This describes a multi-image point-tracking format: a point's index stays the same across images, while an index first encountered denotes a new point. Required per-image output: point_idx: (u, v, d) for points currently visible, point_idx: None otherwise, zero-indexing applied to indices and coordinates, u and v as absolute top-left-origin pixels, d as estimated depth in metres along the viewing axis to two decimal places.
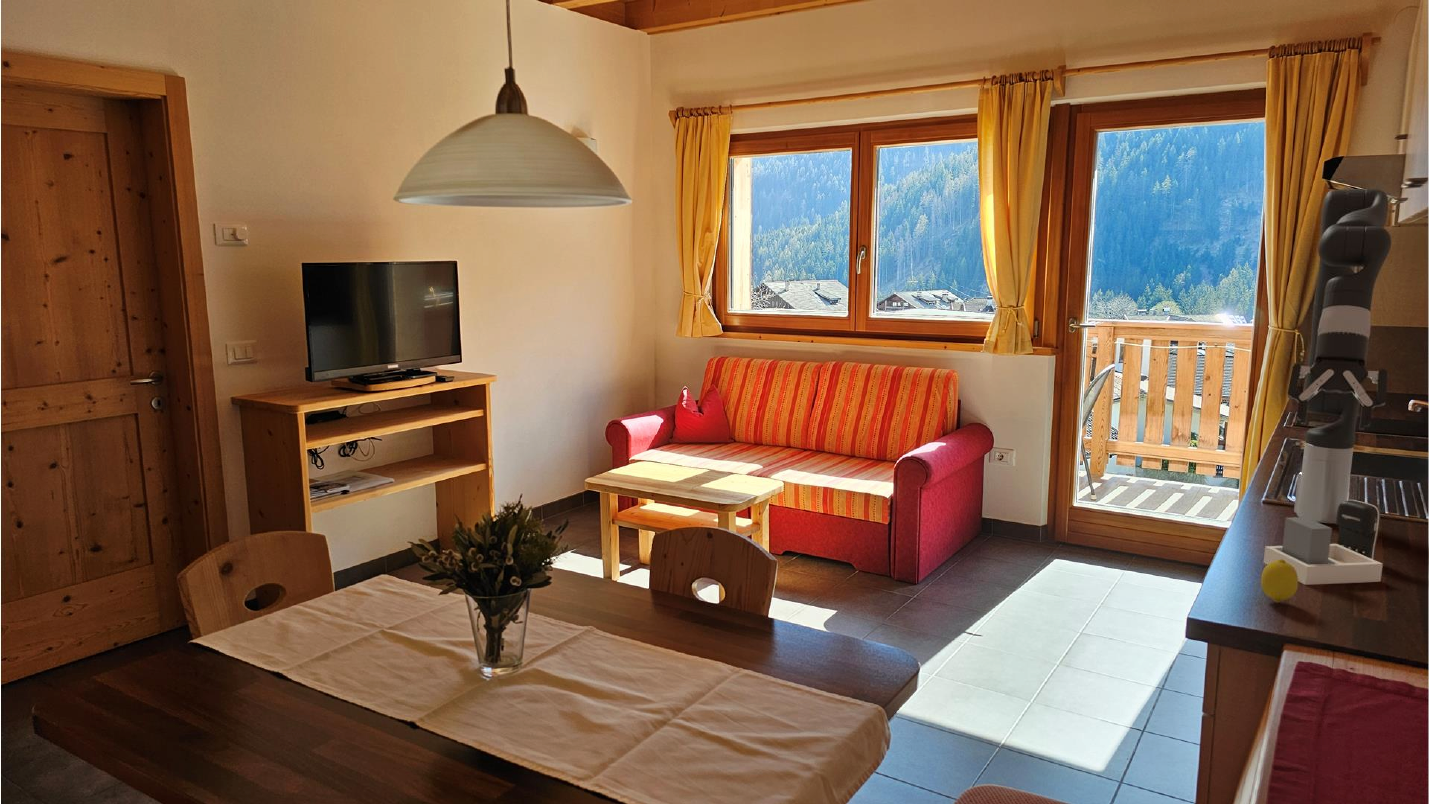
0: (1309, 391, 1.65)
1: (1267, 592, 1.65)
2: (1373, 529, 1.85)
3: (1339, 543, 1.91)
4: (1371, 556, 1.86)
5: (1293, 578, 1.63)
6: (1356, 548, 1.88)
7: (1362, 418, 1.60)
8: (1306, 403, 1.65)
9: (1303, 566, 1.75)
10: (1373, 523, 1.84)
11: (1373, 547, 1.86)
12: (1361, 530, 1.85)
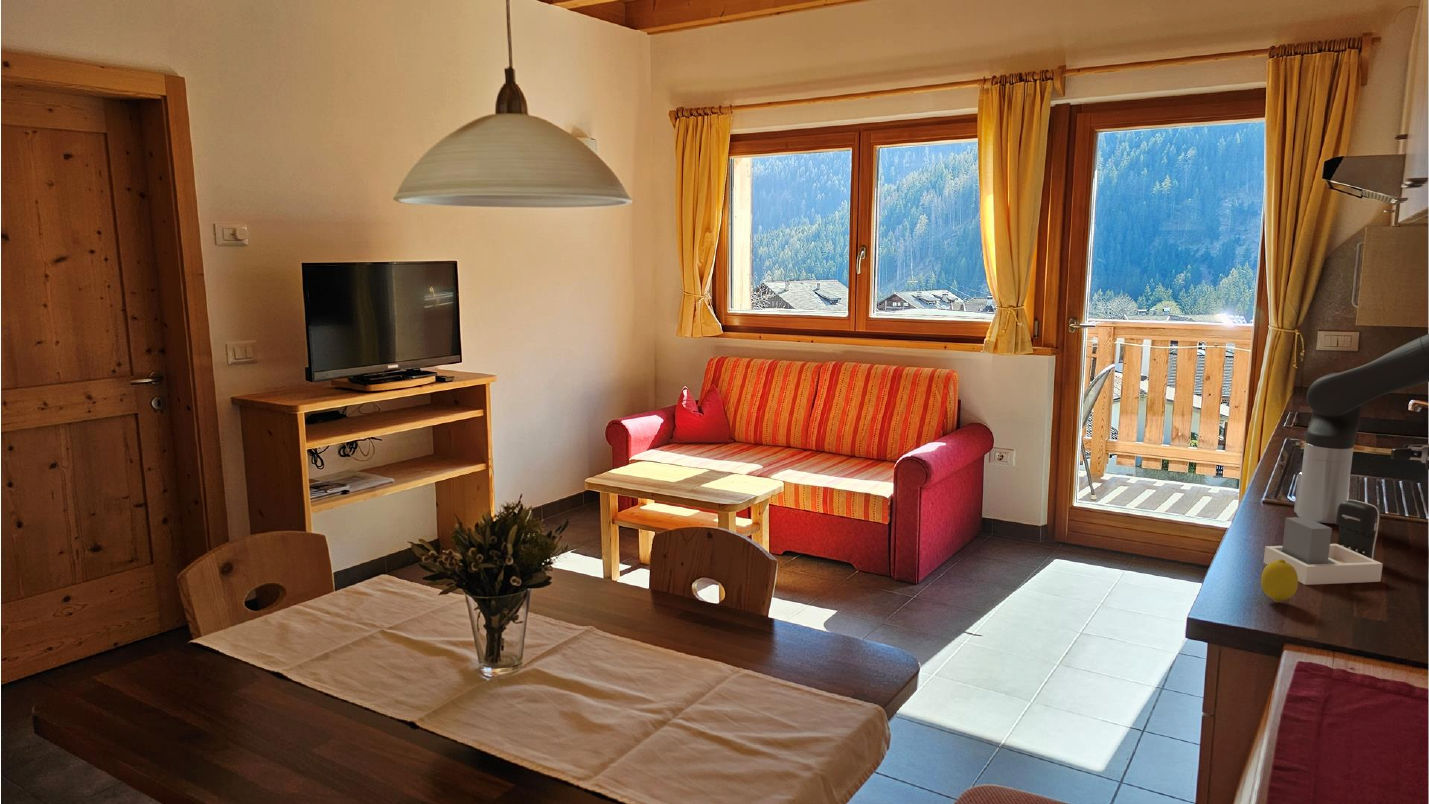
0: None
1: (1267, 592, 1.65)
2: (1373, 529, 1.85)
3: (1339, 543, 1.91)
4: (1371, 556, 1.86)
5: (1293, 578, 1.63)
6: (1356, 548, 1.88)
7: None
8: None
9: (1303, 566, 1.75)
10: (1373, 523, 1.84)
11: (1373, 547, 1.86)
12: (1361, 530, 1.85)
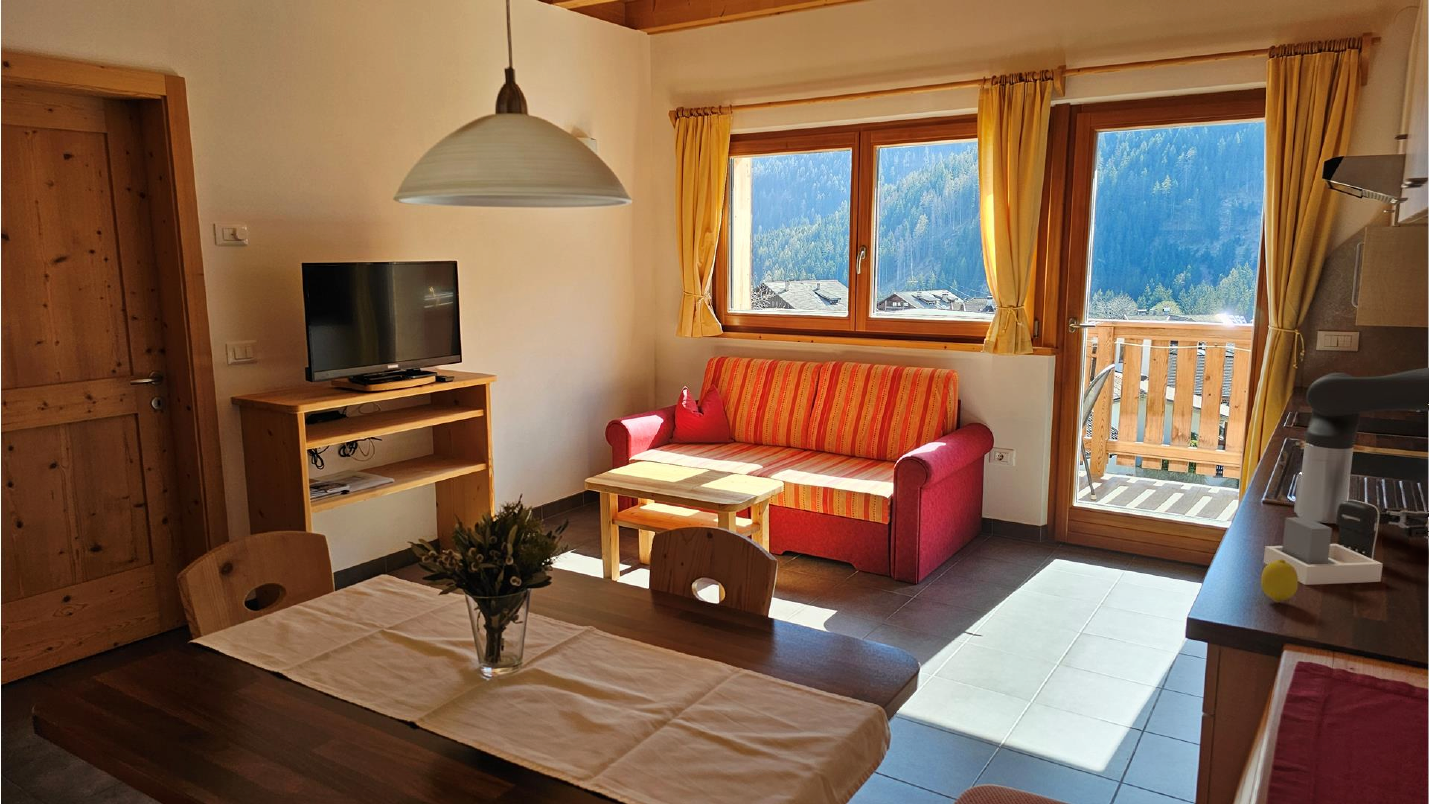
0: None
1: (1267, 592, 1.65)
2: (1373, 529, 1.85)
3: (1339, 543, 1.91)
4: (1371, 556, 1.86)
5: (1293, 578, 1.63)
6: (1356, 548, 1.88)
7: None
8: None
9: (1303, 566, 1.75)
10: (1373, 523, 1.84)
11: (1373, 547, 1.86)
12: (1361, 530, 1.85)
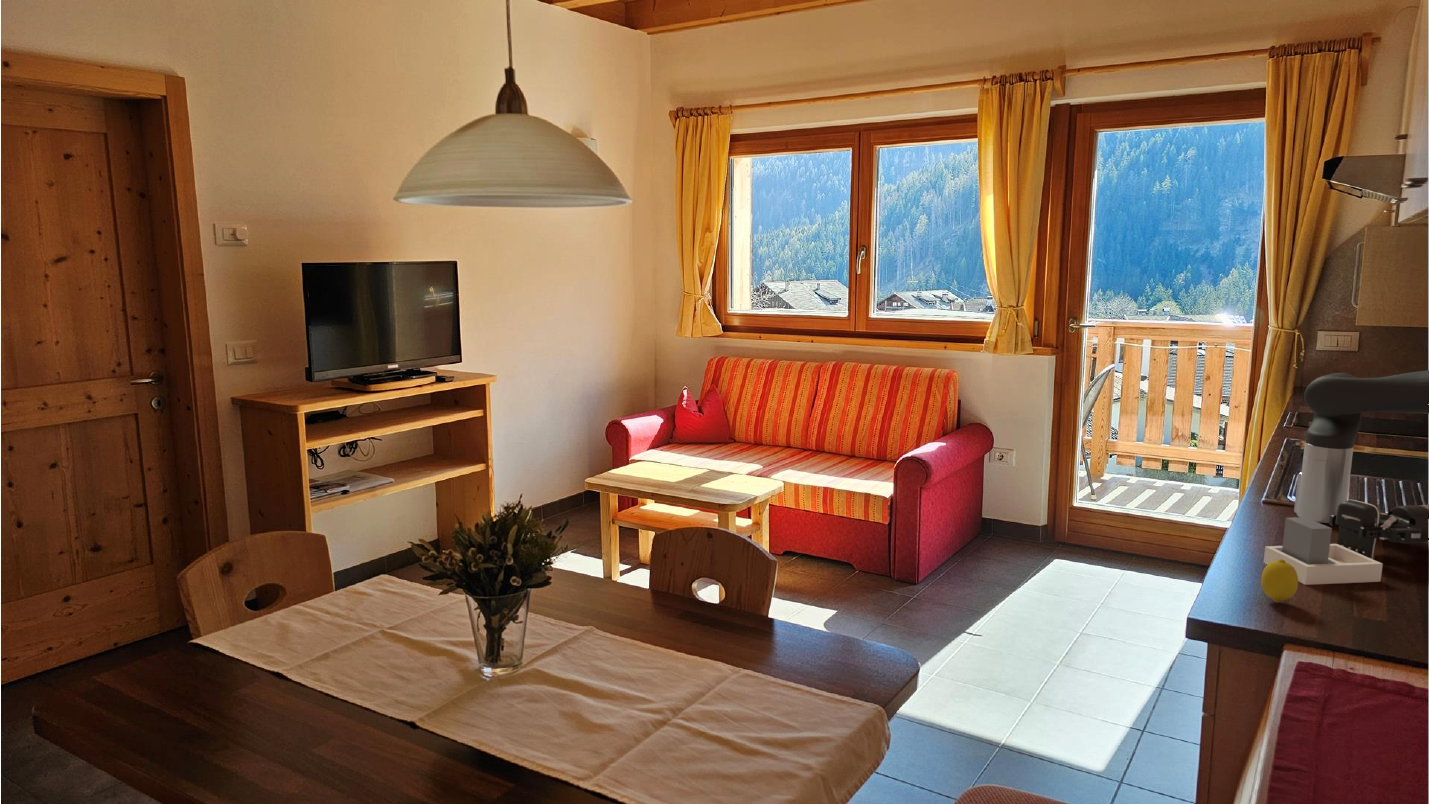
0: None
1: (1267, 592, 1.65)
2: None
3: (1339, 543, 1.91)
4: (1371, 556, 1.86)
5: (1293, 578, 1.63)
6: (1356, 548, 1.88)
7: (1338, 525, 1.92)
8: None
9: (1303, 566, 1.75)
10: (1373, 523, 1.84)
11: (1373, 547, 1.86)
12: None
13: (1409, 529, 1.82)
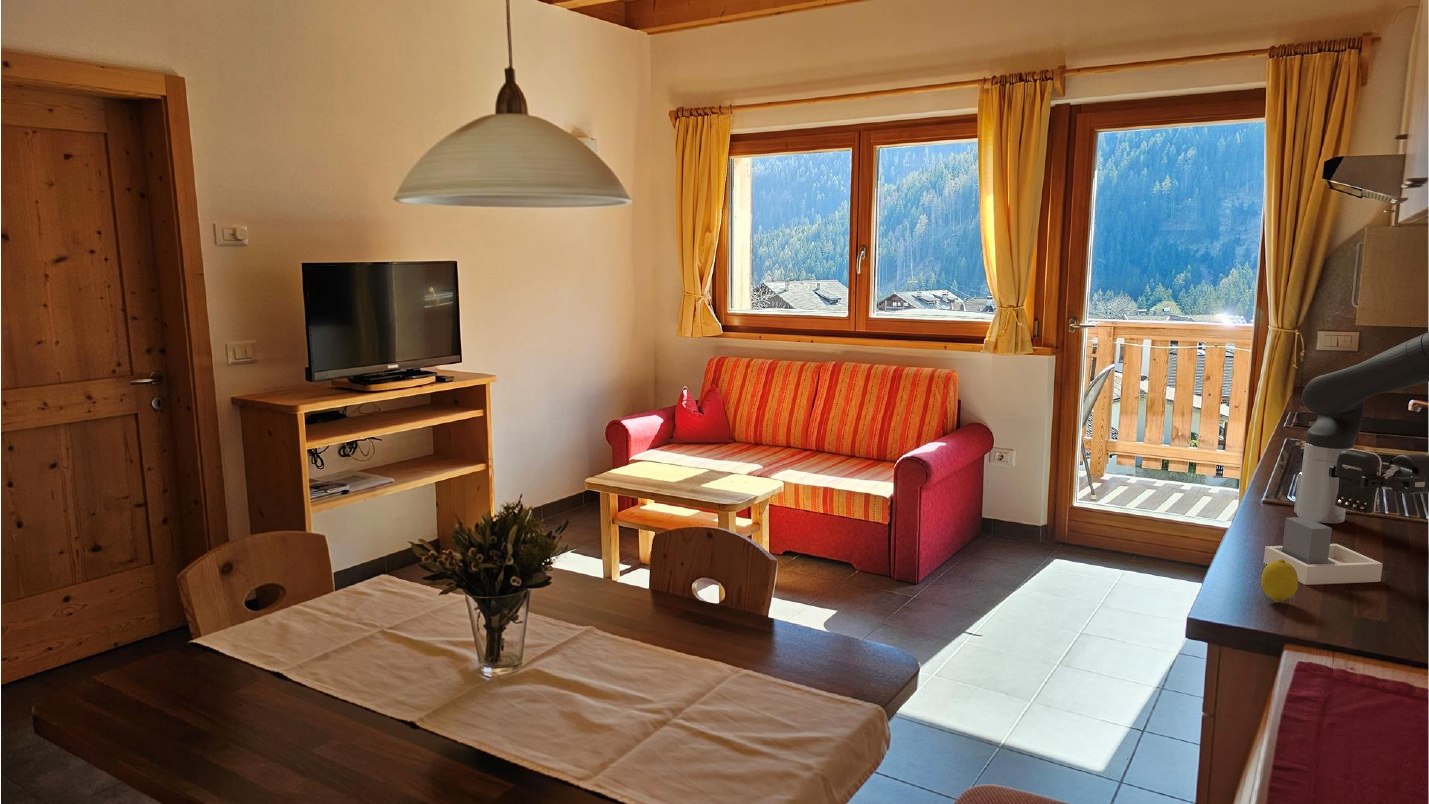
0: None
1: (1267, 592, 1.65)
2: None
3: (1339, 495, 1.82)
4: (1373, 507, 1.77)
5: (1293, 578, 1.63)
6: (1357, 499, 1.79)
7: (1337, 477, 1.83)
8: None
9: (1303, 566, 1.75)
10: (1375, 472, 1.75)
11: (1375, 498, 1.77)
12: None
13: (1413, 477, 1.73)
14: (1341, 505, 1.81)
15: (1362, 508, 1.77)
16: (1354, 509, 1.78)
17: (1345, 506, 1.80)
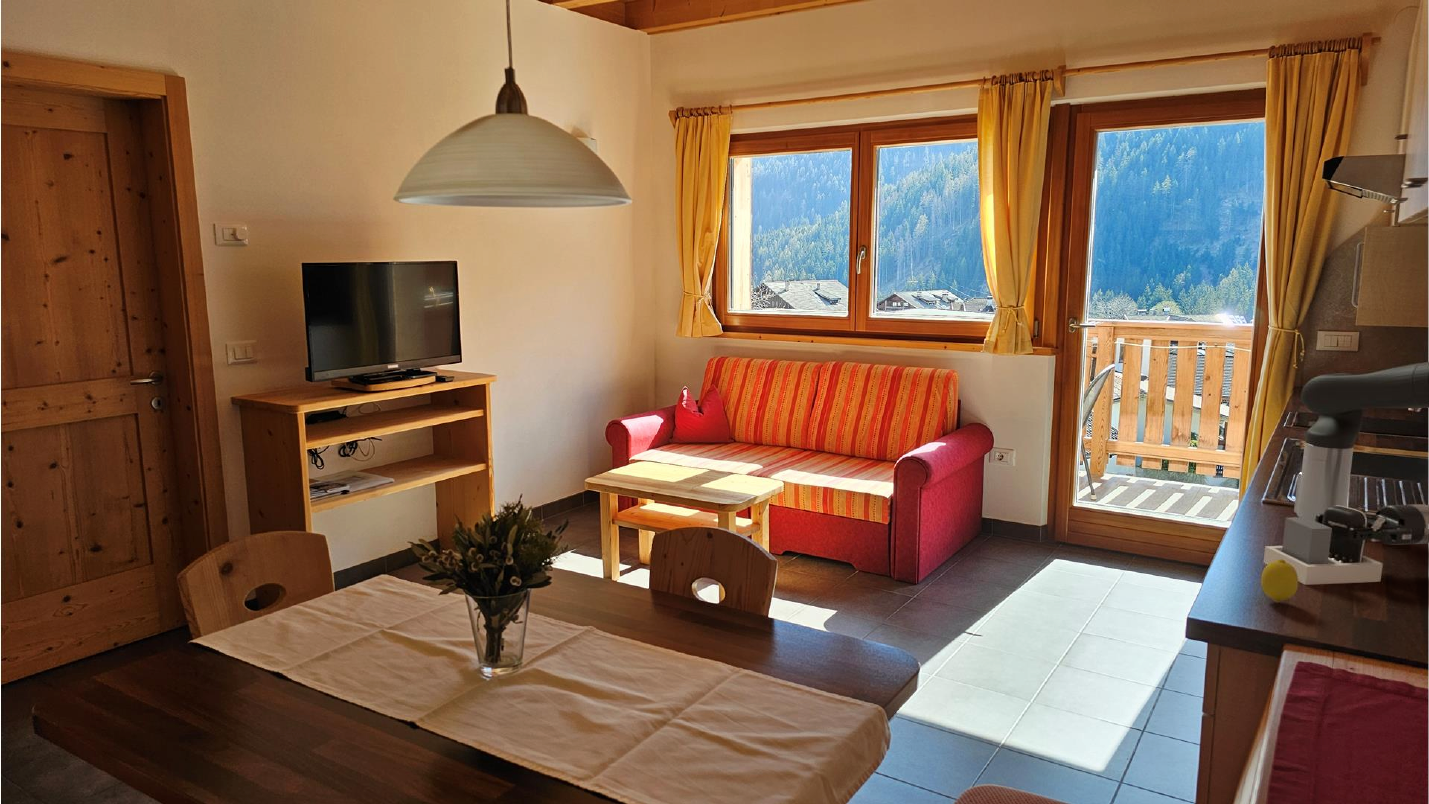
0: None
1: (1267, 592, 1.65)
2: None
3: None
4: None
5: (1293, 578, 1.63)
6: (1343, 556, 1.80)
7: None
8: None
9: (1303, 566, 1.75)
10: None
11: (1360, 555, 1.78)
12: None
13: (1400, 530, 1.74)
14: None
15: None
16: None
17: None
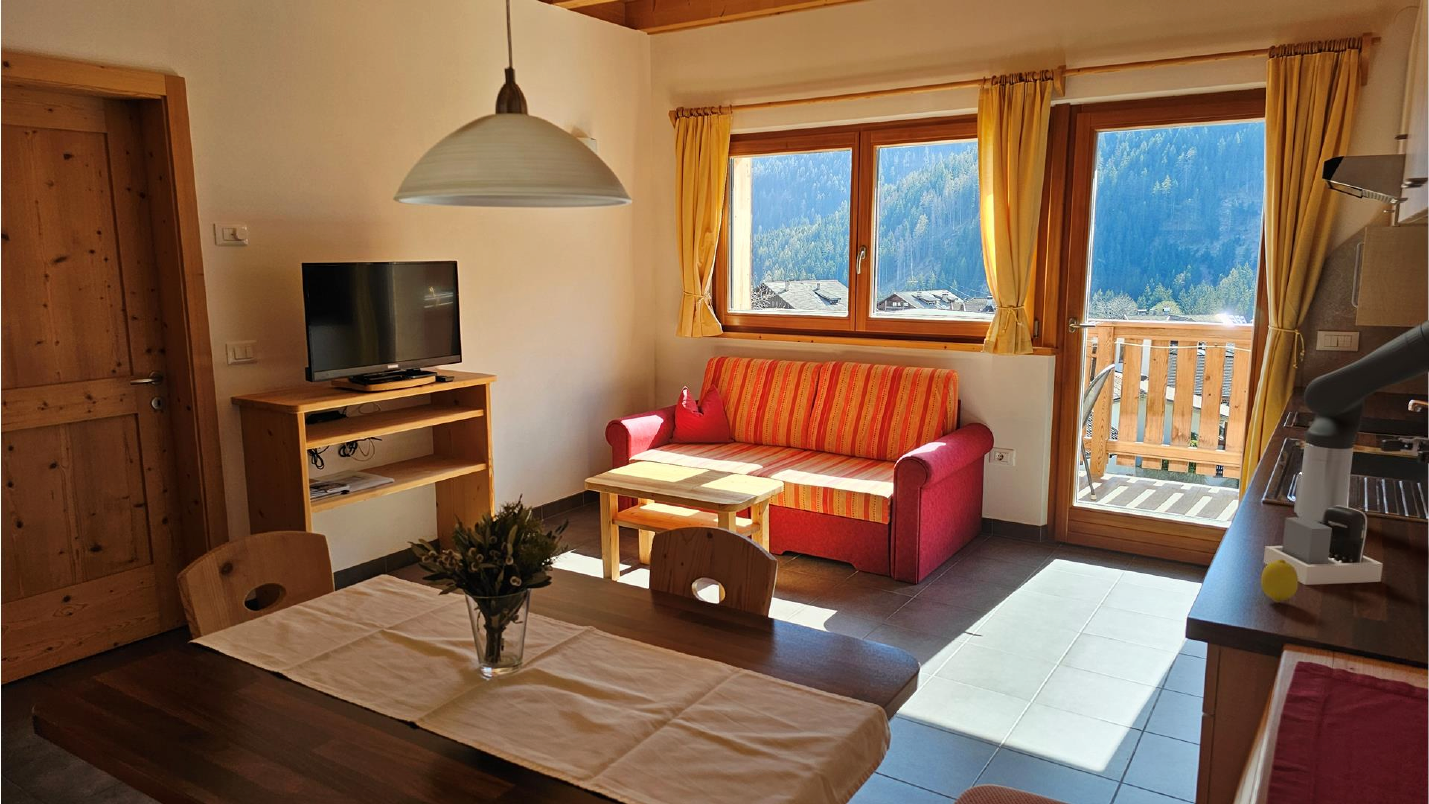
0: None
1: (1267, 592, 1.65)
2: (1361, 536, 1.77)
3: None
4: None
5: (1293, 578, 1.63)
6: (1343, 556, 1.80)
7: None
8: None
9: (1303, 566, 1.75)
10: (1360, 530, 1.76)
11: (1361, 555, 1.78)
12: (1348, 537, 1.77)
13: None
14: None
15: None
16: None
17: None
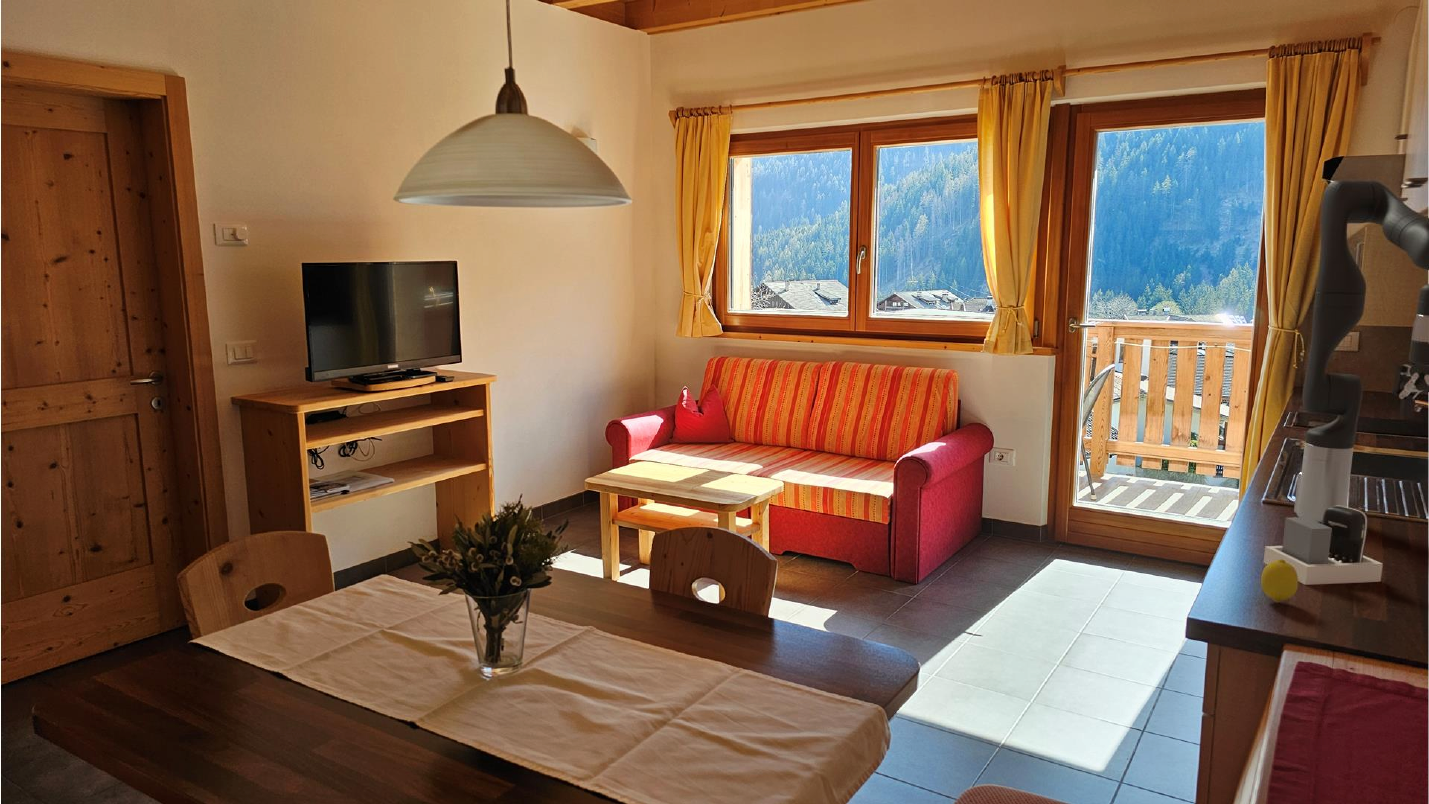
0: (1405, 391, 1.85)
1: (1267, 592, 1.65)
2: (1360, 536, 1.77)
3: None
4: None
5: (1293, 578, 1.63)
6: (1343, 556, 1.80)
7: None
8: (1404, 401, 1.85)
9: (1303, 566, 1.75)
10: (1360, 530, 1.76)
11: (1361, 555, 1.78)
12: (1348, 537, 1.77)
13: None
14: None
15: None
16: None
17: None
